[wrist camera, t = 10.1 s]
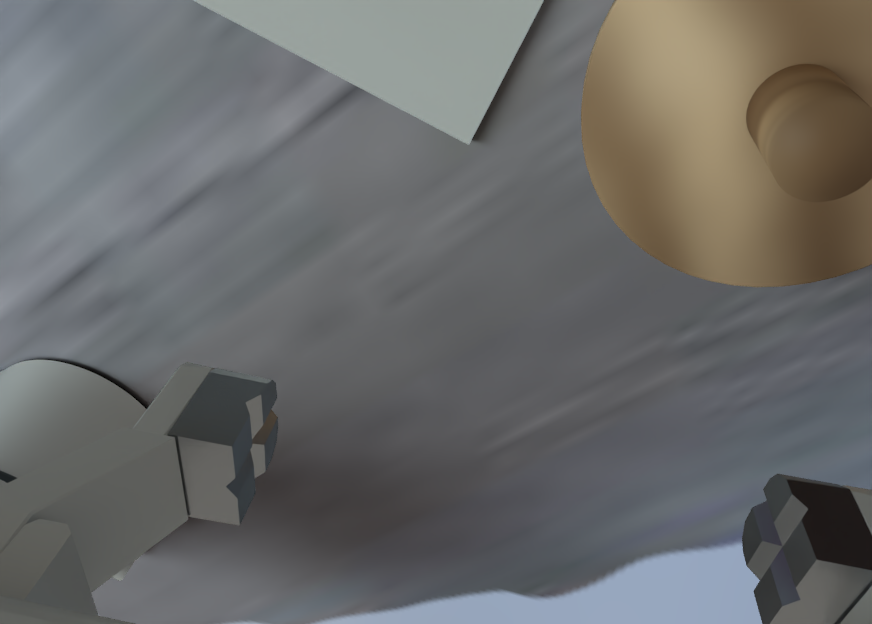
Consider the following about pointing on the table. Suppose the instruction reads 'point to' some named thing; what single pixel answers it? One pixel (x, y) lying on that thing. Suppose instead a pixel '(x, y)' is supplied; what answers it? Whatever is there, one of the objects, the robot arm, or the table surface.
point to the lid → (736, 135)
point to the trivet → (401, 48)
